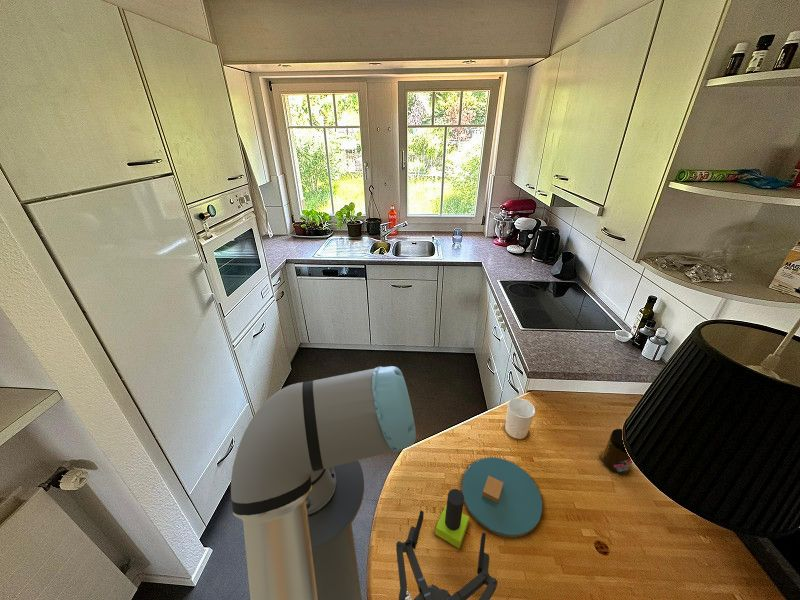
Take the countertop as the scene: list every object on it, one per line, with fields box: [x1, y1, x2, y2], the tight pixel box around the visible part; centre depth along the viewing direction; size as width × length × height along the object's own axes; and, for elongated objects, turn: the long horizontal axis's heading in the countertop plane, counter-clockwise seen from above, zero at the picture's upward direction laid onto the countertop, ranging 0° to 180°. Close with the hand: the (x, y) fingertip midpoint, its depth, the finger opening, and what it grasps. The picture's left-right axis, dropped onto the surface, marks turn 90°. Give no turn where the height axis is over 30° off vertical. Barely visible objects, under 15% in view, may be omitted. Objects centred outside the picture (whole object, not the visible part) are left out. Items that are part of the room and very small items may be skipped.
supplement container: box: [601, 428, 633, 474], centre depth 90 cm, size 7×7×10 cm
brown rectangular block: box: [482, 476, 503, 504], centre depth 83 cm, size 4×5×2 cm
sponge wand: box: [435, 488, 470, 549], centre depth 74 cm, size 6×6×13 cm
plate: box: [461, 457, 543, 538], centre depth 84 cm, size 20×20×1 cm
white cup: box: [504, 397, 536, 440], centre depth 100 cm, size 8×8×10 cm
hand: (451, 524), depth 71 cm, fingers open, 13 cm apart
